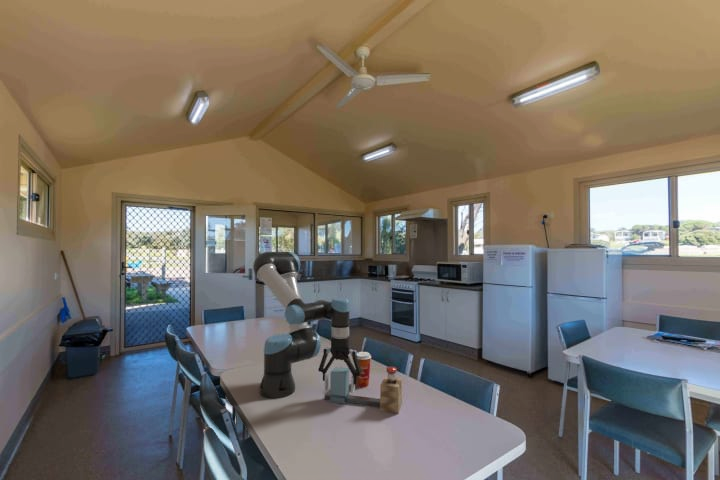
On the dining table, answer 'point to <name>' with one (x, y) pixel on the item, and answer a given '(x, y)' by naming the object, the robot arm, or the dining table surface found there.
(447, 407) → the dining table surface
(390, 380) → the plunger
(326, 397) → the rail
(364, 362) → the paper cup
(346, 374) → the block
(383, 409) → the housing
